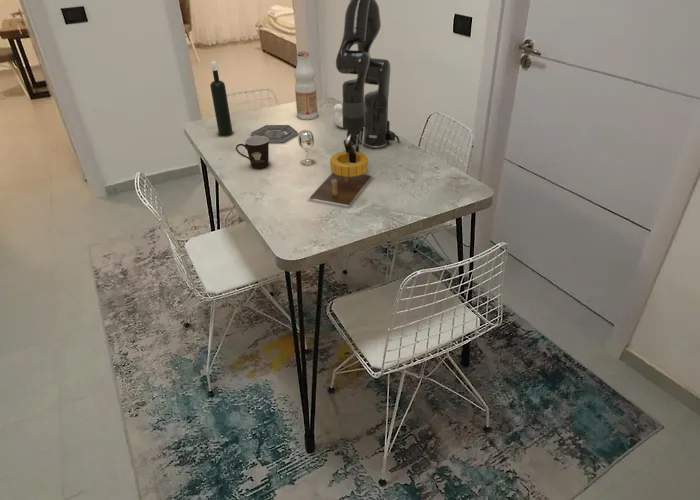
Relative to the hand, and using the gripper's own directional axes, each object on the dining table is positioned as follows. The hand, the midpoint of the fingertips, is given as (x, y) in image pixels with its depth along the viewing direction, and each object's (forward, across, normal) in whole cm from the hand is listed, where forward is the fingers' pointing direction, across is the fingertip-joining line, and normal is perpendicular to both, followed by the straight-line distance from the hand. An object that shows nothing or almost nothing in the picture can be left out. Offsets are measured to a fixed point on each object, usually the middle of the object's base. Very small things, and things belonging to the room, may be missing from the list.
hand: (354, 160), depth 174 cm
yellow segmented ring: (+1, -5, 0) cm, 5 cm away
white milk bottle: (+6, +48, +41) cm, 64 cm away
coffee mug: (+6, -5, +38) cm, 38 cm away
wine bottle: (+6, +17, +66) cm, 68 cm away
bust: (+6, +41, +21) cm, 47 cm away
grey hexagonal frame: (+6, +23, +45) cm, 51 cm away
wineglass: (+6, +3, +20) cm, 21 cm away
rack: (+5, -12, 0) cm, 13 cm away
